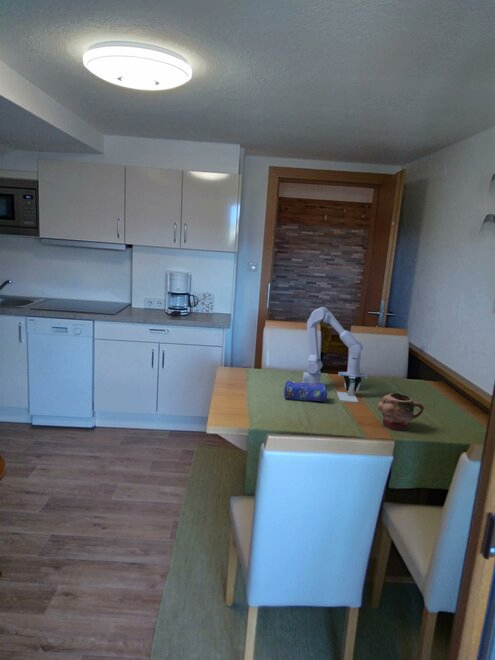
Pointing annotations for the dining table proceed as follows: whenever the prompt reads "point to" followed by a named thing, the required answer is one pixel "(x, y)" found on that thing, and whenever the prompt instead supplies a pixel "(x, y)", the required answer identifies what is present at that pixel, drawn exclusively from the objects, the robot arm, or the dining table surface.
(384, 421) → the brown sculpted mug
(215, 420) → the dining table surface
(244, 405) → the dining table surface
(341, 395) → the note pad
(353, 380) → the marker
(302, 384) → the pencil case
